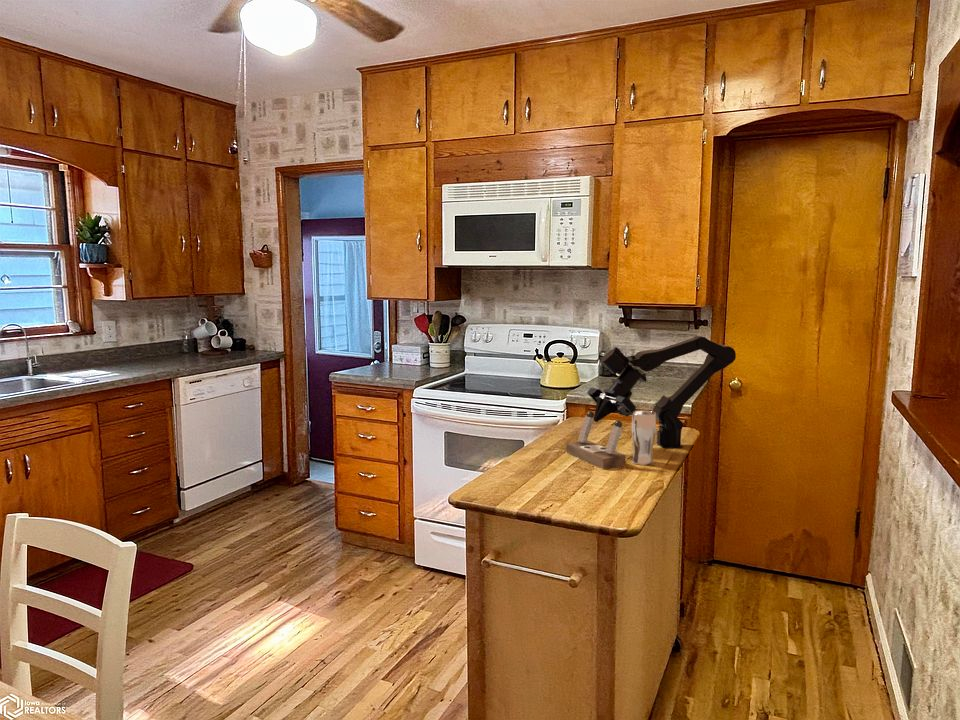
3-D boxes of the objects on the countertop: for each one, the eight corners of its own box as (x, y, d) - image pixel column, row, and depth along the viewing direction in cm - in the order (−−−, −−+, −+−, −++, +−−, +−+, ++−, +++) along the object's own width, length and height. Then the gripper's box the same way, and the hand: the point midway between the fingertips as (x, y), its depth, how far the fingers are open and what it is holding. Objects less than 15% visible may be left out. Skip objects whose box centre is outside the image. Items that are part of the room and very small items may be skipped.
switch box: (587, 449, 206) (587, 438, 206) (625, 465, 189) (625, 453, 189) (566, 452, 203) (566, 441, 202) (603, 469, 186) (603, 457, 185)
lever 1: (582, 441, 204) (591, 411, 204) (586, 443, 201) (596, 413, 201) (576, 439, 202) (586, 409, 203) (581, 441, 200) (591, 411, 200)
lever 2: (609, 452, 191) (619, 420, 191) (615, 454, 189) (625, 422, 189) (603, 451, 190) (613, 418, 190) (609, 453, 188) (619, 420, 188)
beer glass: (652, 459, 196) (654, 410, 194) (656, 466, 189) (658, 415, 187) (629, 458, 196) (630, 409, 194) (632, 465, 189) (633, 414, 187)
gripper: (657, 405, 201) (628, 443, 198) (620, 394, 218) (592, 430, 215) (638, 381, 197) (607, 421, 194) (601, 373, 214) (572, 409, 210)
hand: (594, 421), depth 203 cm, fingers closed
